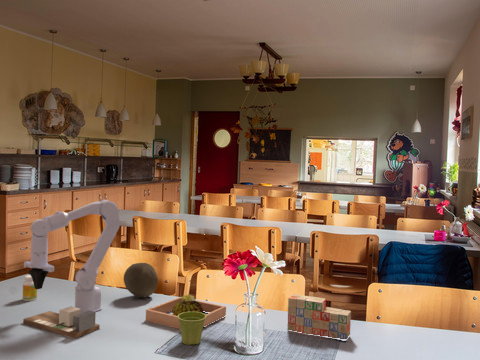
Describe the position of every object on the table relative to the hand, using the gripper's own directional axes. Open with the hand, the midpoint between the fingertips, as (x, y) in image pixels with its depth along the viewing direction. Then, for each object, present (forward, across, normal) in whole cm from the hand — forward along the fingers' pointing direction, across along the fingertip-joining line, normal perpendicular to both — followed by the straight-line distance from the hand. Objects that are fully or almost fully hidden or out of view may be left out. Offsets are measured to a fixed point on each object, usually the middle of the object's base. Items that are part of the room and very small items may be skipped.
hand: (38, 288), depth 174 cm
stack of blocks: (+11, +93, +44) cm, 104 cm away
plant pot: (+11, +61, +12) cm, 63 cm away
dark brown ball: (+11, +13, +41) cm, 44 cm away
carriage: (+9, +19, -3) cm, 21 cm away
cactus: (+11, +47, +28) cm, 56 cm away
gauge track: (+10, +15, -2) cm, 18 cm away
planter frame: (+10, +46, +30) cm, 56 cm away
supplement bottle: (+11, -21, +12) cm, 26 cm away
